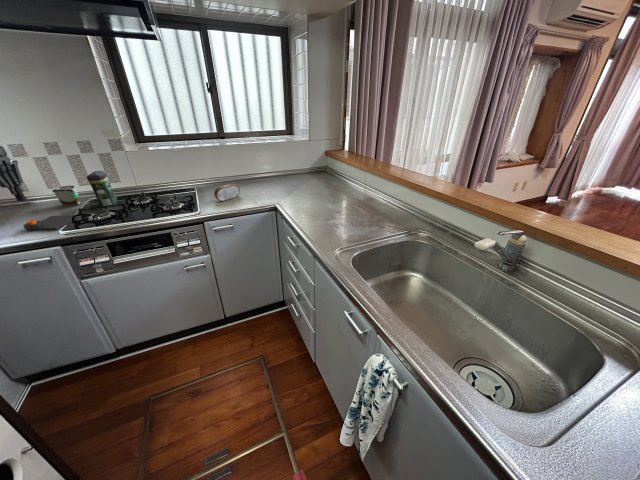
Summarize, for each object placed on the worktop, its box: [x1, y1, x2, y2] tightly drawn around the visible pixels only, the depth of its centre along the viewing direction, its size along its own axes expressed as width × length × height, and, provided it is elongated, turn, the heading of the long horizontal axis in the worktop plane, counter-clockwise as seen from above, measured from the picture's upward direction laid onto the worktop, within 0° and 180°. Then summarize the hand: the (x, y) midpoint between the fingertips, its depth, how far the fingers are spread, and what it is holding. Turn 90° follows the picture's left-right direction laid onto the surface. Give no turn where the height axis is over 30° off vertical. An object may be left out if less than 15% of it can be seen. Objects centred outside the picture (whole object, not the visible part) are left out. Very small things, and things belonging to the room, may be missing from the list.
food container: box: [51, 185, 82, 207], centre depth 152 cm, size 12×6×10 cm, turn 89°
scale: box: [22, 214, 76, 232], centre depth 130 cm, size 15×15×3 cm
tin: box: [213, 183, 241, 202], centre depth 155 cm, size 15×3×8 cm, turn 136°
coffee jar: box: [86, 170, 118, 208], centre depth 148 cm, size 10×8×19 cm
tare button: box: [25, 219, 37, 225], centre depth 125 cm, size 3×3×2 cm
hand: (22, 200), depth 122 cm, fingers closed
